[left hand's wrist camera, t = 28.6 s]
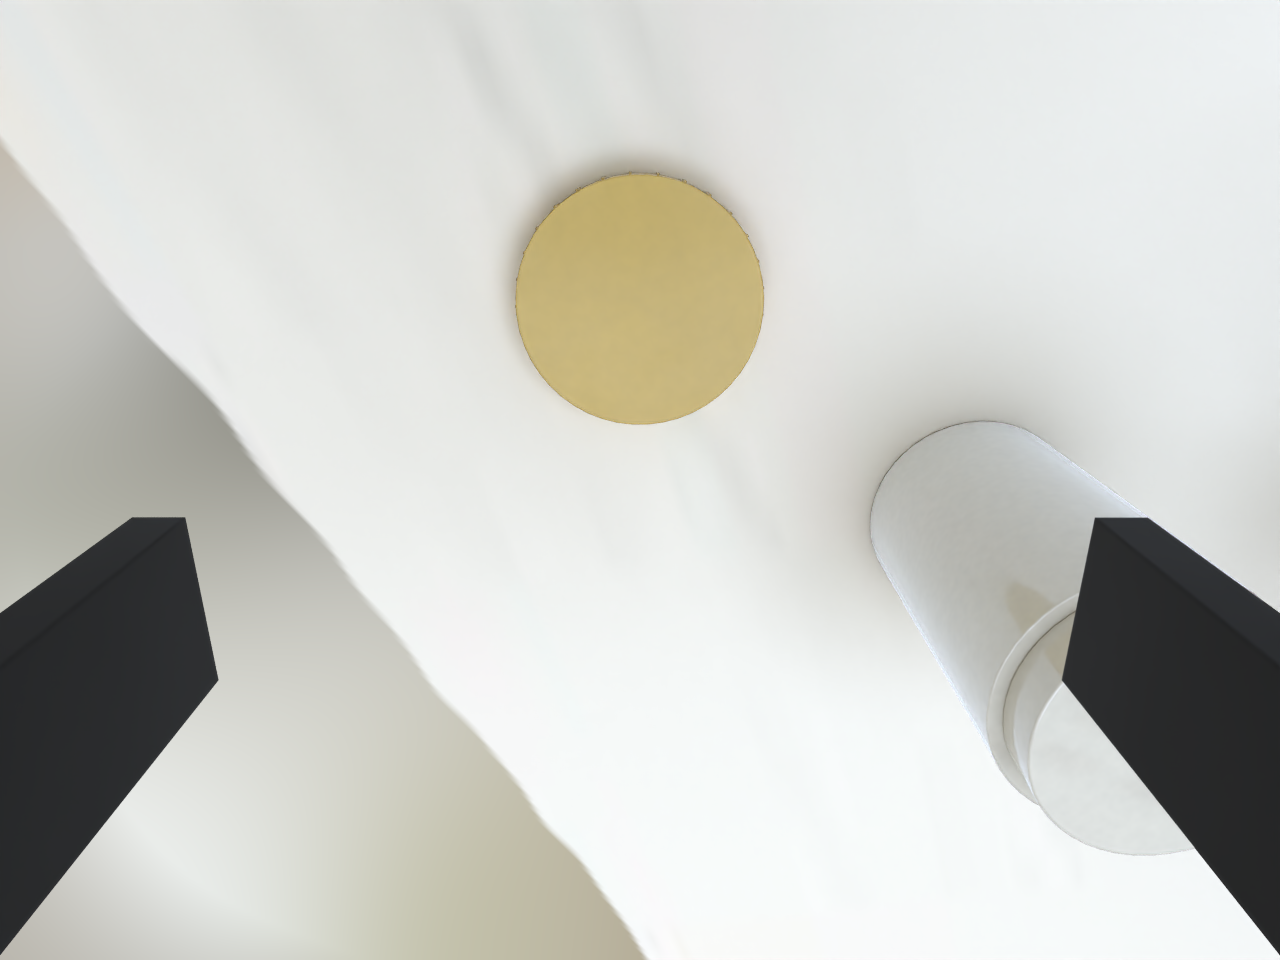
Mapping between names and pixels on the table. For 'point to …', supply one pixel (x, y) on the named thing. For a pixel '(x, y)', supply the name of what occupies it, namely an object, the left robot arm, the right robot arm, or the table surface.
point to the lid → (639, 298)
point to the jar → (1014, 616)
